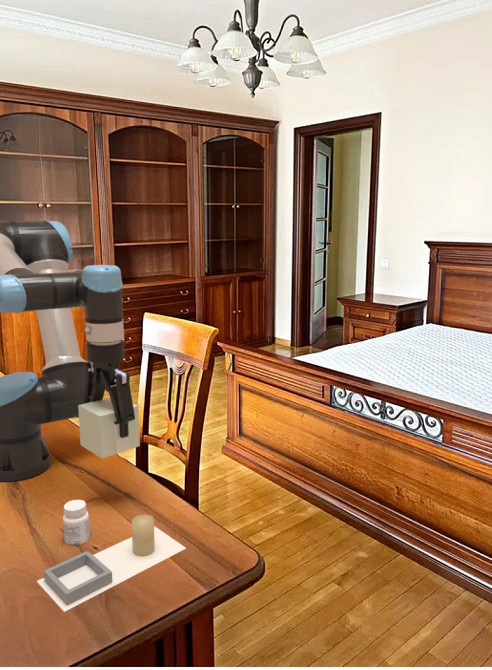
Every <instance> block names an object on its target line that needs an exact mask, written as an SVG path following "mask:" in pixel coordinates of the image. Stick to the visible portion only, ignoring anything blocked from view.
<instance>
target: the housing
mask: <svg viewBox="0 0 492 670" xmlns="http://www.w3.org/2000/svg"><path fill="white" fill-rule="evenodd" d="M139 408H140V407H139V405H137V404H135V403H133V409H134V415H135V420H132V421H129V422H128V429H129V435H128V438H129V450H131V449H134V448H138V447H141V445H140V443H141V441H140V439H141V438H140V413H139V412H140V411H139V410H140V409H139ZM78 410H79V418H78V421H79V422H78V424H79V426H78V427H79V440H80V441H79V442H80V446H81V447H82V448H85V449H86V450H87V451H89V452H91V453H93V454H94V455H96V456H97V457H99V458H101V459H104V458H108V457H111V456H114V455H117V454H118V453H117V452H116V446H115V424H114V422H115V421H117V420H116V416H115V412H114V409H113V406H112V402H111V399H110V397H106V398H103V399H102V400H98V401H94V402H90V403H86V404H81V405H78Z"/></svg>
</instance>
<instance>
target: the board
mask: <svg viewBox="0 0 492 670" xmlns="http://www.w3.org/2000/svg"><path fill="white" fill-rule="evenodd" d="M184 550H187V547H185V546H184V545H182V544H181V543H180V542H178V541H177V540H176V539H173V538H172V537H171V536H170V535H168V534H167V533H165V532H164V531H162V530H161V529H160V528H158V527H157V526H155V518H154V517H153V515H149V514H138V515H136V516H134V517H133V518H132V519H131V537H129V538H127V539H125V540H122V541H120V542H118V543H116V544H114V545H112V546H109V547H107V548H104V549H103V550H101V551H99V552H97V553H95V554H92V553H91V552H90V551H89V550H87V551H84V552H82V553H80V554H78V555H77V554H76V556H74V557H73V556H72V557H71V558H69V559H67V560H64V561H62V562H59V563H57V564H55V565H54V566H51V567H48V568H46V569H45V570H43V577H42V578H40V579H38V580H36V582H37V584H38V585H39V586H40V587H41V588H42V590H44V592H45V593H46V594H47V595H48V596H49V597H50V598H51V600H53V601H54V602H55V604H57V605H58V607H59V608H60V609H61V610H62V612H64V613H66V612H67V611H69V610H71V609H73V608H75V607H76V606H78V605H80V604H83V603H84V602H86V601H88V600H90V599H92V598H94V597H96V596H98V595H100V594H102V593H103V592H105V591H108V590H109V589H112V588H114V587H115V586H117V585H119V584H120V583H123V582H125V581H127V580H129V579H131V578H133V577H134V576H136V575H138V574H140V573H142V572H144V571H146V570H148V569H149V568H152V567H154V566H155V565H157V564H160V563H161V562H163V561H165V560H167V559H169V558H170V557H172V556H175V555H176V554H178V553H180V552H182V551H184Z"/></svg>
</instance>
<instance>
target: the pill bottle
mask: <svg viewBox="0 0 492 670" xmlns="http://www.w3.org/2000/svg"><path fill="white" fill-rule="evenodd" d="M63 513H64V514H63V516H62V524H63V525H62V528H63V540H64V543H65V544H67V545H69V546H79V545H82V544H84V543H86V542H88V541H89V539H90V538H91V530H90V529H91V528H90V515H89V512H88V510H87V504H86V501H85V500H83V499H72V500H69V501H68V502H66V503H65V504H64V505H63Z"/></svg>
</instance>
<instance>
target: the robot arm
mask: <svg viewBox="0 0 492 670" xmlns="http://www.w3.org/2000/svg"><path fill="white" fill-rule="evenodd" d="M73 255H74V253H73V244H72V239H71V236H70V233H69V231H68V229H67V227H66V226H65V225H64V224H62V223H61V222H60V221H56V220H47V219H42V220H8V219H7V220H0V313H4V314H5V313H14V314H18V313H19V314H20V313H26V312H33V311H35V312H36V315H37V320H38V325H39V332H40V336H41V341H42V347H43V348H42V349H43V352H44V356H45V357H44V358H45V365H44V366H43V368H42V369H41V376H40V377H39V376H38V375H37V374H36V373H35V372H32V371H24V372H22V371H19V372H13V373H9V374H6V375H5V374H4V375H2V376H0V482H16V481H15V480H17V481H22V480H21V479H23V480H26V478H27V479H30V478H29V477H31V478H33V477H32V476H34V477H36V476H38V475H37V474H39V473H41V472H42V473H44V472H45V471H46V470H45V469H47V468H48V466H49V465H50V466H51V464H50V462H51V463H52V460H51V459H52V458H51V453H50V450H49V448H48V446H47V444H46V442H45V439H44V438H43V436H42V425H43V424H49V423H54V422H59V421H63V420H64V421H65V420H69V419H75V418H77V419H79V410H78V405H81V404H86V403H90V402H94V401H98V400H102V399H104V395H105V392H107V393H108V396H109V398H110V399H111V402H112V406H113V409H114V412H115V416H116V420H117V421H115V422H114V424H115V446H116V452H117V454H120V453H123V452H126V451H129V450H130V449H129V438H128V435H129V429H128V422H129V421H132V420H135V415H134V409H133V404H134V403H133V396H132V391H131V386H130V383H131V382H130V379H131V378H130V372H127V371H126V372H123V371H122V370H121V369H122V368H121V365H120V364H121V363H120V362H121V361H123V360H124V359H125V357H126V356H125V355H126V354H125V342H124V341H123V339H125V330H124V313H123V311H124V308H123V281H122V271H121V268H120V267H118V266H117V265H111V264H110V265H109V264H92V265H85V266H84V267H83V269H80V270H79V269H77V270H73V271H71V272H66V271H67V270H68V268H69V264H70V263H71V261H72V260H73ZM82 307H83V308H84V309H83V310H84V321H85V328H84V332H85V336H86V341H88V342H87V344H86V359H87V360H85V359H84V358H83V357H81V353H80V347H79V343H78V337H77V332H76V328H75V324H74V323H75V322H74V317H73V312H72V308H73V309H74V308H82ZM50 466H49V467H50ZM48 469H49V468H48ZM48 469H47V470H48ZM44 470H45V471H44ZM43 471H44V472H43ZM42 473H41V474H42ZM35 475H36V476H35ZM39 475H40V474H39Z"/></svg>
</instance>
